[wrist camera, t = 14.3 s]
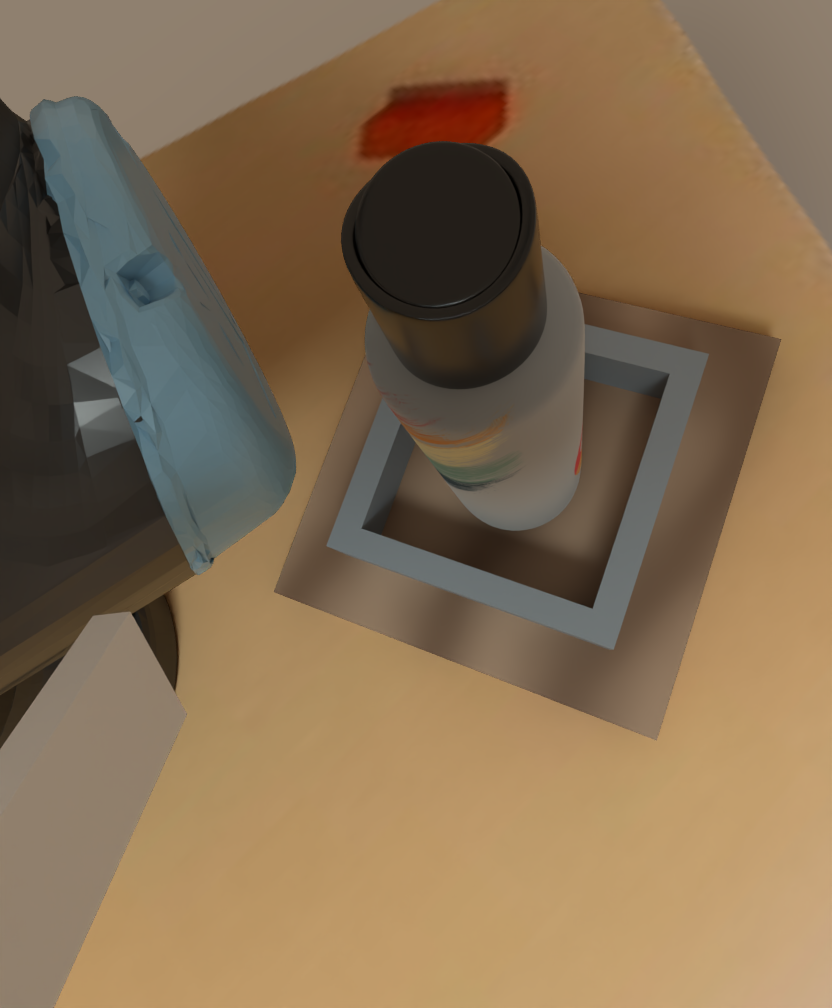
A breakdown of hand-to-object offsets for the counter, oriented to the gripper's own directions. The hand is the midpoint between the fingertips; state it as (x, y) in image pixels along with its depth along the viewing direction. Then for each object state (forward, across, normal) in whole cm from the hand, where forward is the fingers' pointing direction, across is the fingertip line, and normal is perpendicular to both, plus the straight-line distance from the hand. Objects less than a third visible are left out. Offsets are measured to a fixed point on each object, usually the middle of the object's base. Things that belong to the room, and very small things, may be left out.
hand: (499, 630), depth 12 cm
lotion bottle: (+19, 0, -8) cm, 21 cm away
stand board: (+20, 0, -9) cm, 22 cm away
